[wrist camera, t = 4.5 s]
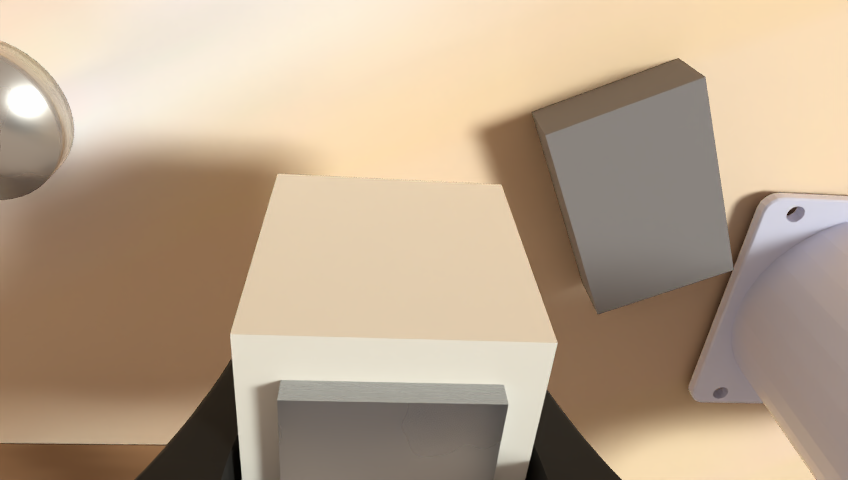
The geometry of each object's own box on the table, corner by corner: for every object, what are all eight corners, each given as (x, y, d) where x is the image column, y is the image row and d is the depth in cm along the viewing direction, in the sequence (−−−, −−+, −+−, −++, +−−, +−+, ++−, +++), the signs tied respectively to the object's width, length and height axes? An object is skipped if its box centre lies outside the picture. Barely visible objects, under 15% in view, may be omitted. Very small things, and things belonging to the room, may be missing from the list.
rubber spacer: (672, 54, 18) (705, 76, 16) (703, 234, 21) (733, 269, 19) (529, 107, 18) (545, 135, 17) (579, 276, 21) (597, 314, 20)
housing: (501, 184, 14) (564, 361, 9) (458, 455, 18) (487, 673, 13) (277, 173, 13) (223, 353, 9) (286, 453, 17) (253, 677, 13)
